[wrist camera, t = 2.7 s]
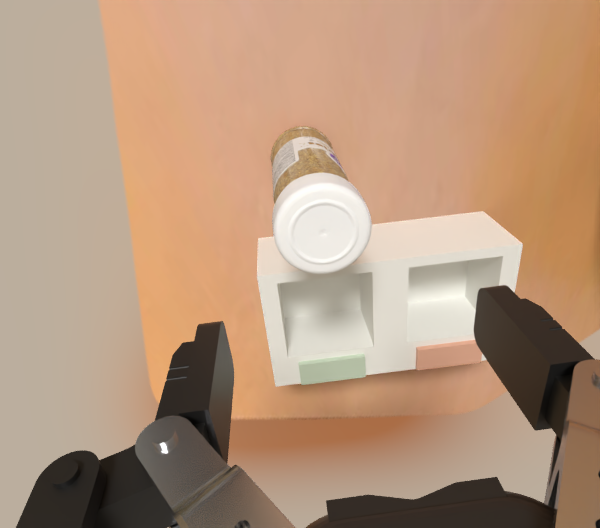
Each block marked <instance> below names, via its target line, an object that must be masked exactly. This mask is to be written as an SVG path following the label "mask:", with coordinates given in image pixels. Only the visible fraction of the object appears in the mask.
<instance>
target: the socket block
mask: <svg viewBox="0 0 600 528" xmlns="http://www.w3.org/2000/svg"><path fill="white" fill-rule="evenodd" d="M522 246H523V244H522V243H521V242H520V241H519V240H517V239H516V238H515V237H514V236H513V235H511V234H510V233H509V232H508V231H507V230H505V229H504V228H503V227H502V226H500V225H499V224H498V223H497V222H496V221H494V220H493V219H492V218H491V217H490V216H488V215H487V214H486V213H485V212H484V211H480V212H472V213H464V214H455V215H447V216H439V217H430V218H422V219H414V220H405V221H397V222H389V223H380V224H372V228H371V236H370V239H369V242H368V244H367V246H366V248H365V250H364V251H363V253H362V254H361V255H360V257H359V258H358V259H357V260H356V261H354V262H353V263H352V264H351V265H349V266H347V267H346V268H344V269H342V270H339V271H336V272H333V273H327V274H313V273H308V272H304V271H301V270H299V269H297V268H295V267H294V266H292V265H291V264H289V263H288V262H287V261H286V260H285V259H284V258H283V257H282V255H281V254H280V252H279V251H278V248H277V246H276V244H275V240H274V236H272V237H264V238H258V259H257V279H258V285H259V291H260V297H261V303H262V309H263V315H264V321H265V326H266V332H267V338H268V344H269V350H270V356H271V362H272V368H273V374H274V380H275V386H284V385H292V384H300V383H301V385H307V384H315V383H323V382H331V381H339V380H346V379H354V378H362V377H366V375H372V374H379V373H387V372H395V371H403V370H411V369H417V371H418V370H426V369H434V368H441V367H449V366H457V365H465V364H473V363H481V361H482V360H487V359H486V358H485V356H484V355H483V354H482V352H481V351H480V349H479V348H478V346H477V343H476V341H475V337H474V320H475V312H476V303H477V295H478V291H479V289H480V288H486V287H493V286H501V285H506V286H508V287H509V288H510V289H511V290H512V291H513V292H514V293H515V287H516V282H517V276H518V270H519V264H520V258H521V252H522Z"/></svg>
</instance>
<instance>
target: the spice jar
mask: <svg viewBox="0 0 600 528" xmlns="http://www.w3.org/2000/svg"><path fill="white" fill-rule="evenodd" d="M271 162H272V175H273V197H274V204H275V205H274V209H273V216H272V224H273V235H274V240H275V244H276V246H277V248H278V251H279V252H280V254H281V255H282V257H283V258H284V259H285V260H286V261H287V262H288V263H289V264H291V265H292V266H294V267H295V268H297V269H299V270H301V271H304V272H308V273H313V274H327V273H333V272H336V271H339V270H342V269H344V268H346V267H347V266H349V265H351V264H352V263H353V262H354V261H356V260H357V259H358V258H359V257H360V255H361V254H362V253H363V251H364V250H365V248H366V246H367V244H368V242H369V239H370V236H371V228H372V223H371V216H370V213H369V210H368V208H367V205H366V203H365V201H364V199H363V198H362V196H361V194H360V193H359V191H358V190H357V189H356V188H355V187H354V185H353V184H351V183H350V182H349V181H348V179H347V176H346V174H345V172H344V170H343V168H342V167H341V165H340V163H339V161H338V159H337V157H336V155H335V153H334V151H333V149H332V146H331V143H330V141H329V140H328V139H327V137H326V136H325V135H324V134H323V133H321V132H320V131H318V130H317V129H314V128H311V127H307V126H298V127H294V128H291V129H289V130H287V131H285V132H284V133H283V134H281V135H280V136H279V137H278V139H277V141H276V142H275V143H274V146H273V148H272V153H271Z"/></svg>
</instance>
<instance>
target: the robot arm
mask: <svg viewBox="0 0 600 528" xmlns="http://www.w3.org/2000/svg"><path fill="white" fill-rule="evenodd" d="M474 337H475V341H476V343H477V346H478V348H479V349H480V351H481V352H482V354H483V355H484V356H485V358H486V359H487V361H488V362H489V364H490V365H491V367H492V368H493V370H494V371H495V373H496V374H497V376H498V377H499V378H500V380H501V381H502V383H503V384H504V386H505V387H506V389H507V390H508V392H509V393H510V394H511V396H512V397H513V399H514V400H515V402H516V403H517V405H518V406H519V408H520V409H521V411H522V412H523V414H524V415H525V417H526V418H527V419H528V421H529V422H530V424H531V425H532V427H533V428H534V430H542V429H549V428H552V429H553V431H554V432H555V433H556V437H555V441H554V446H553V452H552V458H551V464H550V471H549V477H548V483H547V489H546V496H545V501H544V503H542V502H540V501H537V500H535V499H533V498H530V497H527V496H524V495H521V494H517V493H512V492H507V491H504V490H503V488H502V486H501V484H500V482H499V480H498V478H497V477H493V478H486V479H478V480H471V481H464V482H457V483H454V484H451V485H449V486H447V487H444V488H442V489H440V490H437V491H435V492H433V493H431V494H428V495H426V496H424V497H421V498H419V499H414V500H410V499H401V498H393V497H383V496H374V495H364V496H356V497H349V498H342V499H335V500H328V501H326V503H327V511H328V515H326V516H324V517H322V518H319V519H318V520H316V521H314V522H313V523H311V524H310V525H308V526H307V527H306V528H600V360H595V359H594V358H593V357H592V356H591V355H590V354H589V353H588V352H587V351H586V350H585V349H584V348H583V347H582V346H581V345H580V344H579V343H578V342H577V341H576V340H575V339H574V338H573V337H572V336H571V335H570V334H569V333H568V332H567V331H566V330H565V329H562V326H561V325H560V324H558V323H557V322H556V321H555V320H553V318H552V317H551V316H550V315H549V314H548V313H547V312H546V311H545V310H544V309H543V308H542V307H541V306H539V305H537V304H535V303H533V302H531V301H529V300H528V299H520V298H519V297H518V296H517V295H516V294H515V293H514V292H513V291H512V290H511V289H510V288H509V287H508V286H506V285H501V286H493V287H486V288H480V289H479V291H478V295H477V303H476V312H475V320H474ZM169 369H170V370H169V371H168V375H167V378H166V379H167V381H166V382H165V386H164V389H163V393H162V397H161V400H160V404H159V408H158V411H157V415H156V418H155V421H154V422H152V423H151V424H150V425H148V426H147V427H146V428H145V429H144V430H143V431H142V432H141V433H140V435H139V436H138V438H137V441H136V444H135V445H133V446H132V447H130V448H128V449H126V450H124V451H121V452H119V453H116V454H114V455H111V456H109V457H107V458H104V459H101V460H98V458H97V456H96V455H95V454H94V453H92V452H90V451H75V452H71V453H69V454H66V455H64V456H62V457H60V458H58V459H57V460H55V461H54V462H53V463H52V464H50V465H49V466H48V467H47V468H46V469H45V470H44V471H43V472H42V473H41V475H40V476H39V478H38V479H37V481H36V483H35V486H34V488H33V490H32V492H31V494H30V497H29V499H28V501H27V504H26V506H25V508H24V510H23V513H22V515H21V517H20V520H19V522H18V524H17V526H16V528H167V527H169V528H295V526H294V525H293V524H292V523H291V522H290V521H289V520H288V519H287V518H286V517H285V515H284V514H283V513H282V512H281V511H280V510H279V509H278V508H277V507H276V506H275V505H274V503H273V502H272V501H271V500H270V499H269V498H268V497H267V496H266V494H265V493H264V492H263V491H262V490H261V489H260V488H259V487H258V486H257V485H256V484H255V482H253V480H252V479H251V478H250V477H249V476H248V475H247V474H246V472H245V471H244V470H243V469H242V468H240V467H239V466H237V465H234V466H233V467H232V468H231V467H230V466H228V464H227V461H228V460H227V459H228V448H229V436H230V423H231V411H232V398H233V386H234V367H233V360H232V356H231V351H230V347H229V343H228V338H227V334H226V330H225V326H224V323H223V321H220V322H212V323H205V324H199V325H198V327H197V331H196V336H195V340H194V341H193V342H185V343H182V344H181V346H180V347H179V348H178V349H177V351H176V352H175V353H174V354H173V356H172V360H171V364H170V367H169Z"/></svg>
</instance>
